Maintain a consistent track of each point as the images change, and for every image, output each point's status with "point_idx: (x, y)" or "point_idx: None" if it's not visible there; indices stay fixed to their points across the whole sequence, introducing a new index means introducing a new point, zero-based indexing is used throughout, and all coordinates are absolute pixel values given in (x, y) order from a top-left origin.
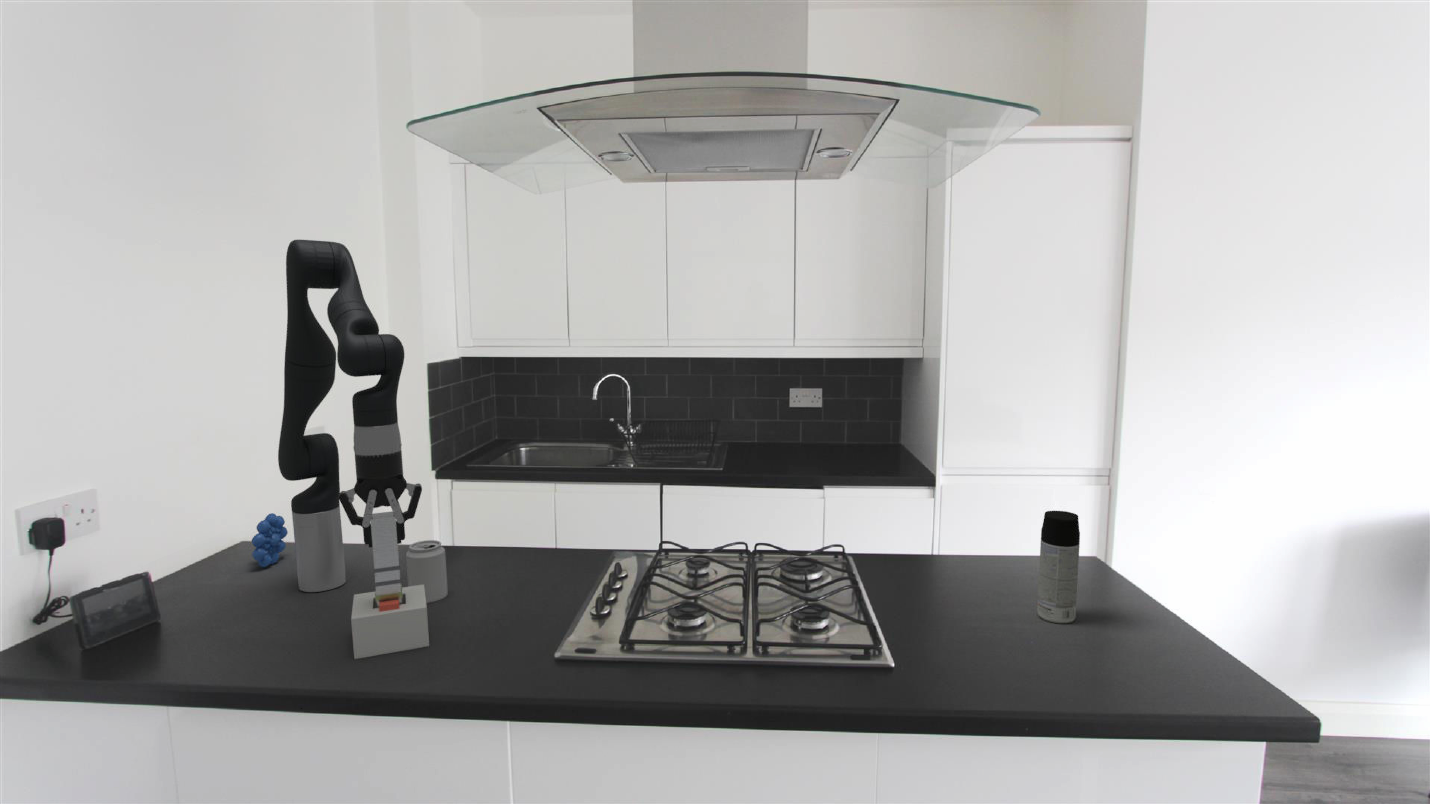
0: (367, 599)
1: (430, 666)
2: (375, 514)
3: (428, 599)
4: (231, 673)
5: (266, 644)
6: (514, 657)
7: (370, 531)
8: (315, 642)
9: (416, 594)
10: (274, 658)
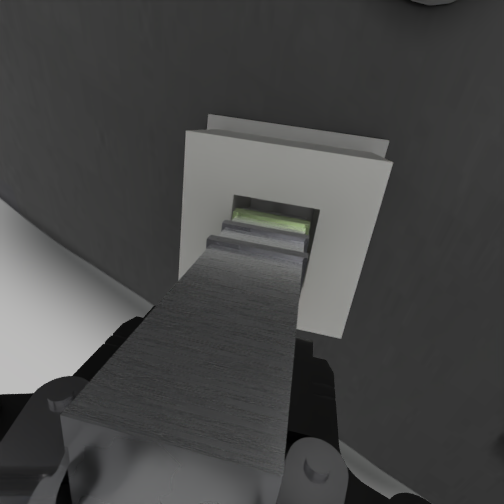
0: (218, 196)
1: (318, 340)
2: (100, 460)
3: (428, 1)
4: (28, 176)
5: (52, 61)
6: (450, 391)
7: None
8: (143, 111)
9: (345, 238)
10: (81, 151)
